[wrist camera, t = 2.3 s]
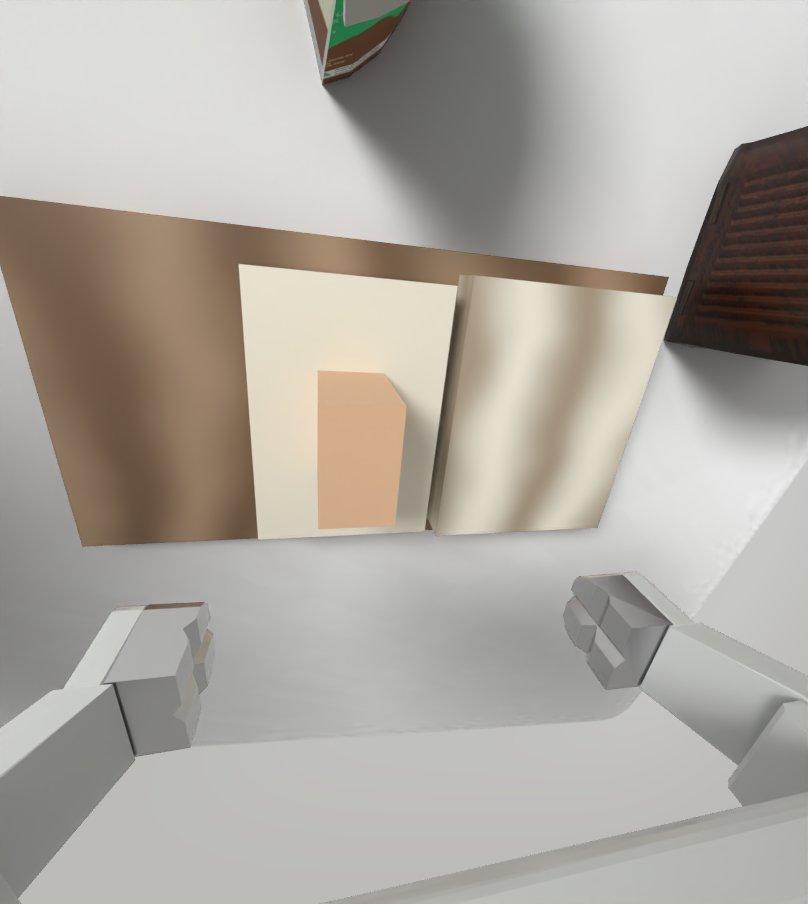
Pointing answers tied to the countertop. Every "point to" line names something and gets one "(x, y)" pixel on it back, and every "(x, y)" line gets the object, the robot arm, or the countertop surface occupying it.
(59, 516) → the countertop surface
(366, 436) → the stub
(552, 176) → the countertop surface
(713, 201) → the manual coffee grinder
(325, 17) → the food container
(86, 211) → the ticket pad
